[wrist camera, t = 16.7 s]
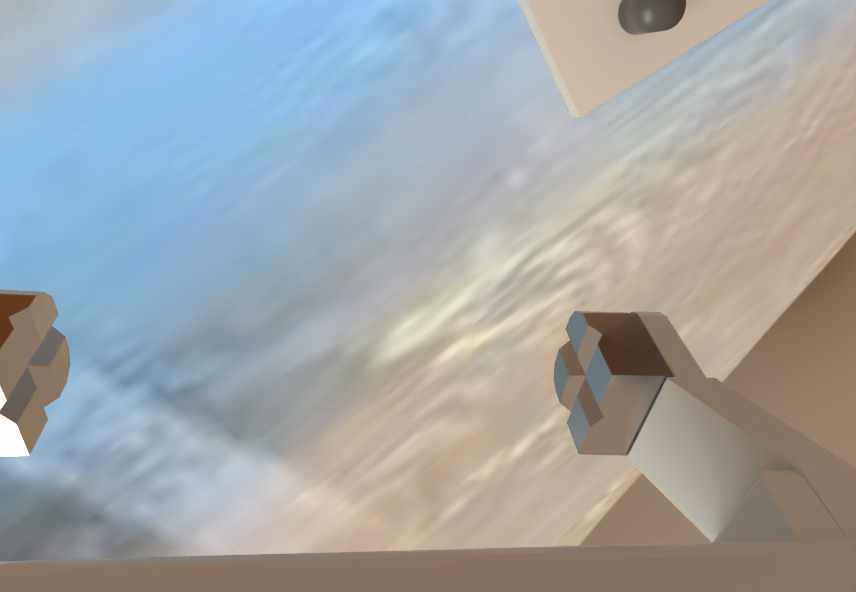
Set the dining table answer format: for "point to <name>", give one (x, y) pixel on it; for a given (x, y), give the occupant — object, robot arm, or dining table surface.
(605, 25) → the breaker board
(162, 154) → the dining table surface
